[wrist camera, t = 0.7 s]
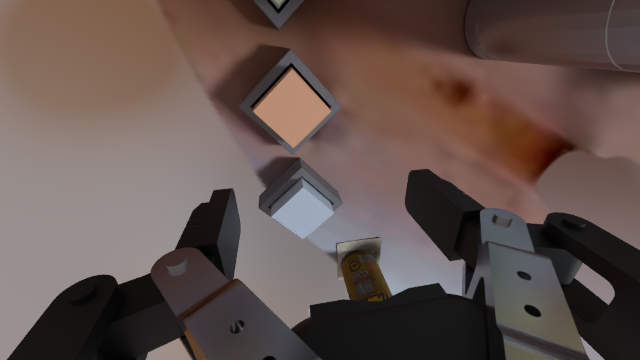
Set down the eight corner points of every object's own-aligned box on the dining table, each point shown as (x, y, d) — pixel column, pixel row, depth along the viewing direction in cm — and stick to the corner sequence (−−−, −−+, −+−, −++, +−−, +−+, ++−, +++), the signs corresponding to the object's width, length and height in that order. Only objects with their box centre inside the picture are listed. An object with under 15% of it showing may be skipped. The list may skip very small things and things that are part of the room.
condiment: (337, 279, 45) (357, 351, 34) (336, 242, 41) (358, 312, 30) (377, 273, 46) (408, 341, 35) (380, 236, 42) (416, 301, 31)
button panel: (331, -122, 22) (339, -144, 19) (338, 219, 39) (343, 232, 36) (198, -124, 20) (187, -148, 18) (266, 229, 37) (265, 243, 35)
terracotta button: (290, 66, 26) (292, 69, 23) (326, 105, 28) (331, 111, 26) (254, 104, 27) (252, 111, 24) (291, 138, 29) (293, 148, 27)
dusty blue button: (301, 175, 32) (303, 187, 29) (329, 199, 34) (334, 212, 32) (271, 203, 33) (271, 216, 30) (300, 224, 35) (303, 239, 33)
